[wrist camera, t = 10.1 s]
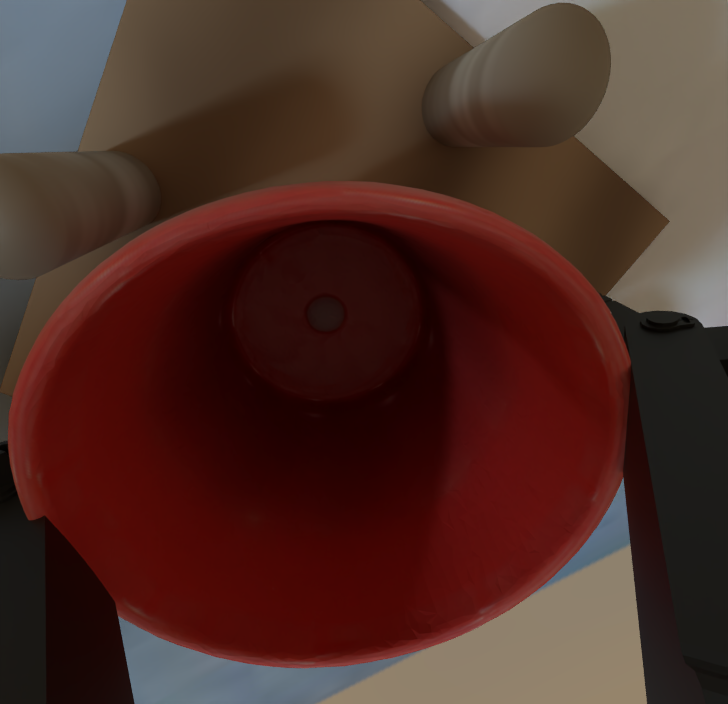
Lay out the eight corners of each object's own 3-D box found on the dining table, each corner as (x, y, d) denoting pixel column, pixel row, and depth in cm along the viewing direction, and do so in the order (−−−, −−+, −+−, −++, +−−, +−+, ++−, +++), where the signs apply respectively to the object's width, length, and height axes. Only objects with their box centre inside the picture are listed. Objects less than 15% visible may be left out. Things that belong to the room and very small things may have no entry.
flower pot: (215, 100, 13) (10, 0, 4) (514, 228, 16) (772, 333, 7) (154, 386, 17) (-16, 646, 8) (401, 447, 19) (474, 688, 11)
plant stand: (9, 383, 17) (-156, 513, 11) (198, -183, 11) (56, -593, 5) (395, 526, 23) (424, 659, 17) (658, 218, 17) (847, 258, 11)
